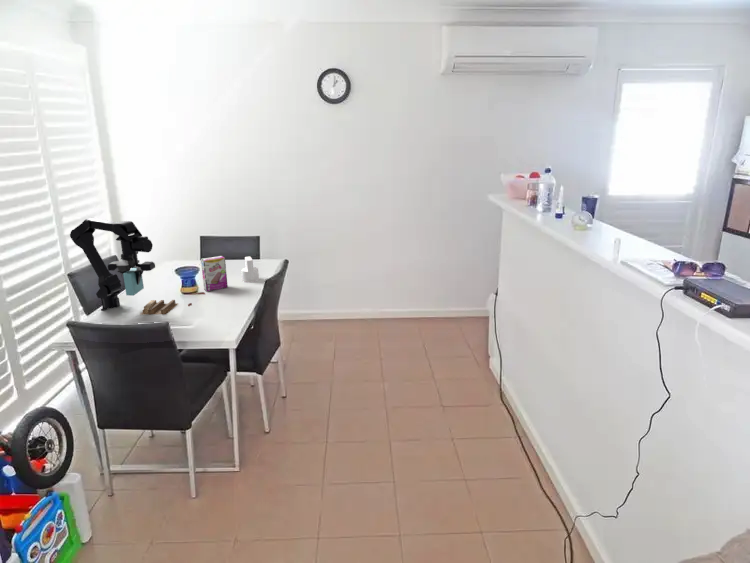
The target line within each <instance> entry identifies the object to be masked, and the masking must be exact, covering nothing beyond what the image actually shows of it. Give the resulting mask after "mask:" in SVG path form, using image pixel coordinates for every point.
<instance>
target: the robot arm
mask: <svg viewBox="0 0 750 563" xmlns="http://www.w3.org/2000/svg"><path fill="white" fill-rule="evenodd" d="M96 230H100V231H106V232H111V233H113V234H114V235H115V236H118V237H117V238H116V239H115V240H116V241H120V245H121V246H120V247H121V254H120V259H119V260H117V261H116V260H113V261H112V262H109V263H108V264H107V265H106V264H105V262H104V260H103V258H102V257H101V255H100V253H99V251H98V250H97V248H96V246H95V237H94V232H96ZM69 236H70V239H71V240H72V242H73V243H74V244H75V245H76V246H77V247H79V248H80V249H82V251H83V253H84V255H85V256H86V258H87V259H88V261H89V263H90V265H91V266H92V268H93V270H94V272H95V273H96V275H97V278H98V281H97V285H98V287H99V289H98V290H97V292H96V293H95V294H96V297H97V298H98V299H100V302H101V306H102V308H100V310H101V311H106V310H109V309H113V308H118V307H119V306H121V303H120V298H119V297H118V294H120V293H121V287H122V284H121V282H122V281H121V280H120V278H119V276H118V275H117V274H116V273H114V274H113V273H111V272H110V271H116V270H117V273H120V274H122V275H123V274H124V273H125V272H127V271H129V270H130V269H132V268H136V269H137V270H136V271H134V272H135V274H136V282H137V285H138V284H139V283H140V279H141V276H142V277H143V274H144V272H151V271H152V270H154V269H155V268H156V263H155V262H154V261H144V262H142V263H140V260H139V259H138V255H139V253H150V252H151V251H152V250H153V243H152V240H151V239H149V237H148V236H147V235H146V236H143V234H142V233H141V231H140V230H139V229H138V227H137V226H136V225H135V224H134V222H133V221H131V220H130V221H129V220H128V221H127V220H126V221H112V220H106V219H105V220H104V219H98V218H95V217H91V218H86V219H84V220H83V221H82V222H81V223H80V224H79V225H77V226H76V227H75V228H74V229H72V230H71V231H70V234H69Z"/></svg>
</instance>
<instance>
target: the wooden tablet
mask: <svg viewBox="0 0 750 563" xmlns="http://www.w3.org/2000/svg"><path fill="white" fill-rule="evenodd" d="M190 295H193V296H194V295H195V296H196V295H199V296H200V295H206V292H203V291H200V292H195V293H190V294H189V296H190ZM187 306H188V307H190V306H193V304H192V302H190V303H188V304H187Z"/></svg>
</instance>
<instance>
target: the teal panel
mask: <svg viewBox="0 0 750 563" xmlns="http://www.w3.org/2000/svg"><path fill="white" fill-rule="evenodd" d="M136 270H137V269H136V268H131V269H130V270H129V271H127V272H125V273H124V274H122V275H123V281H124V288H125V289H124V290H125V295H126V296H135V295H136V294H138V293H139V292H141V291H143V289H144V281H143V275H142V276H141V279H140V283H139V284H138V285H137V282H136V274H135V272H134V271H136Z"/></svg>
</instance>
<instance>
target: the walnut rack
mask: <svg viewBox="0 0 750 563" xmlns="http://www.w3.org/2000/svg"><path fill="white" fill-rule="evenodd" d="M156 303H157V304H156V305H154V306H153V307H152V308H150V309H149V313H143V311H141V312H140V313H139V315H140V316H141V315H147V316H148V315H167V314H169V312H171V311H173V309H174V308H175V307H177V306H178V305H179V304H180V303H176V300H175V299H171V301H169V302H168V303H165V300H164V299H161V300H159V301H158V302H156Z"/></svg>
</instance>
